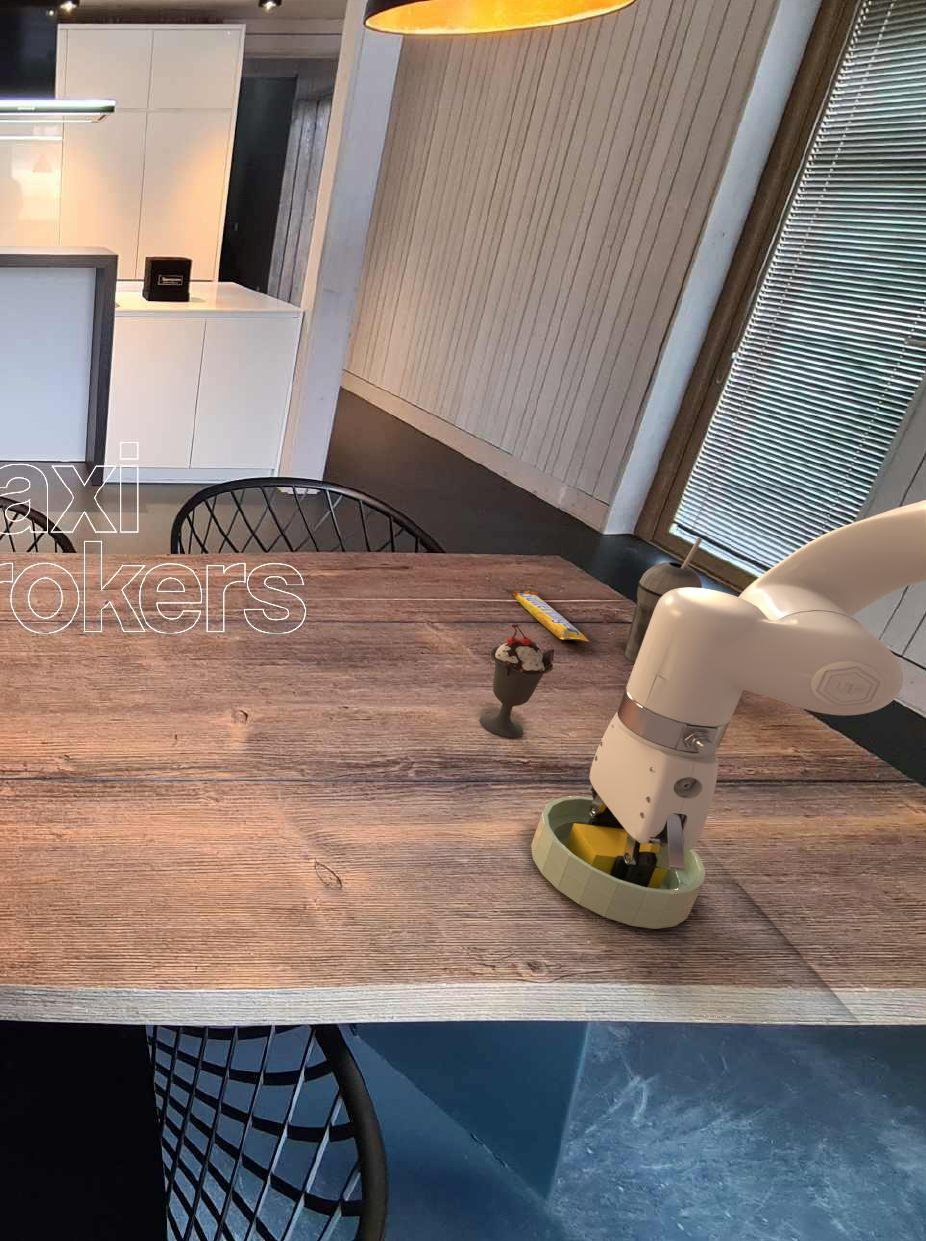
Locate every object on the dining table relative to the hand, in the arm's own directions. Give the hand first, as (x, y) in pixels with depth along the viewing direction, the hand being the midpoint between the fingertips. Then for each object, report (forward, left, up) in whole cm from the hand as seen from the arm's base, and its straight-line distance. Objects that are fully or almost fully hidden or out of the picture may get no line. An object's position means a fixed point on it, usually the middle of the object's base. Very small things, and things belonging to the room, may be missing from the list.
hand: (610, 869), depth 82 cm
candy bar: (-19, -58, -2) cm, 61 cm away
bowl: (0, 0, -1) cm, 1 cm away
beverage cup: (-28, -48, -2) cm, 56 cm away
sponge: (0, 0, -1) cm, 1 cm away
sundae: (0, -26, -2) cm, 26 cm away
